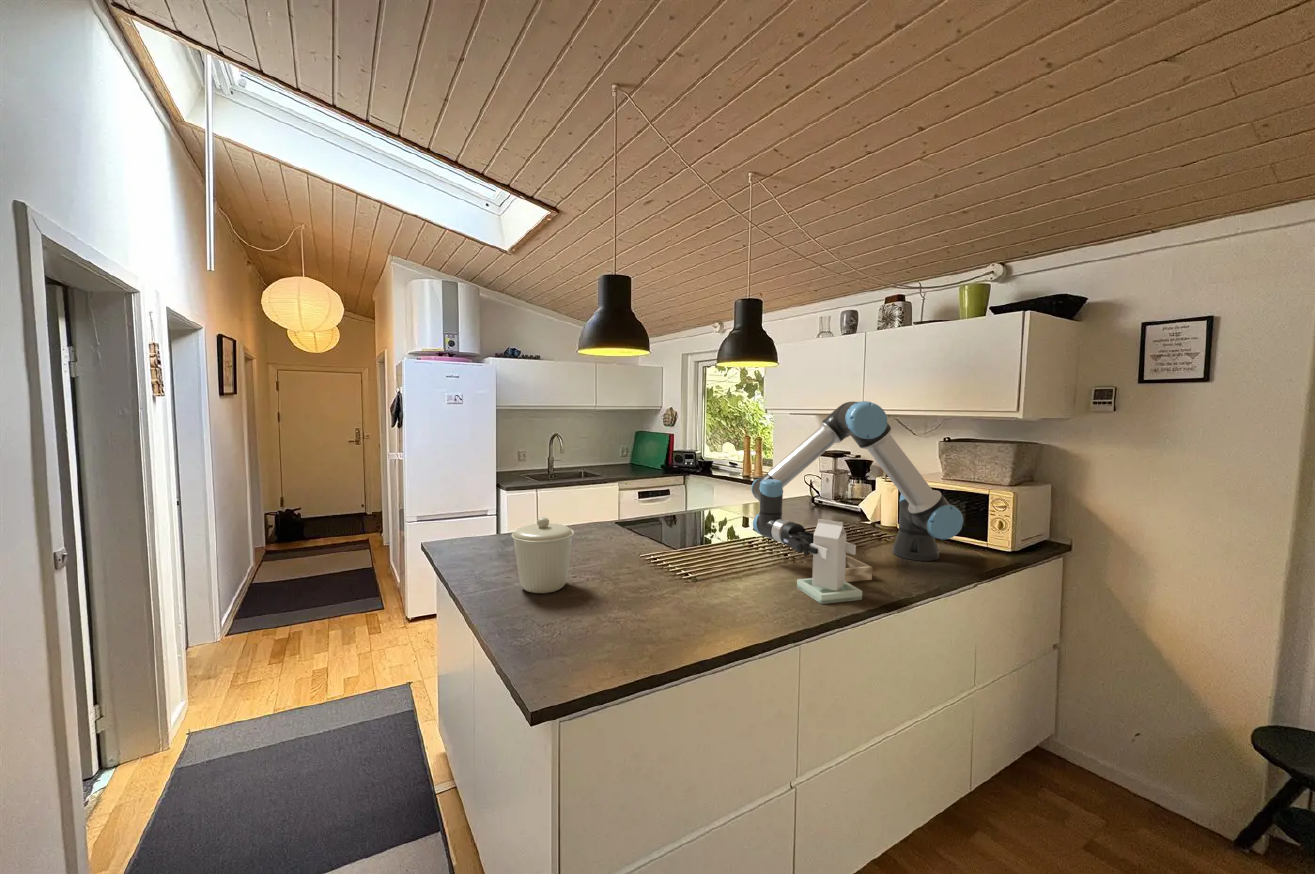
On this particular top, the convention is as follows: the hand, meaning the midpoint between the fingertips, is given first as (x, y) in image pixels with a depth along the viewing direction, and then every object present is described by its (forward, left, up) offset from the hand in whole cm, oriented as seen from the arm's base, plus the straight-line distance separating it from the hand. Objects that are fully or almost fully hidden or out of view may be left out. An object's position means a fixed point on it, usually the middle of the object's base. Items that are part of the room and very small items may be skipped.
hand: (841, 551), depth 148 cm
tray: (+1, -4, -13) cm, 14 cm away
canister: (+80, -30, -14) cm, 87 cm away
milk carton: (+1, -4, -11) cm, 12 cm away
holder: (-13, -18, -13) cm, 26 cm away
